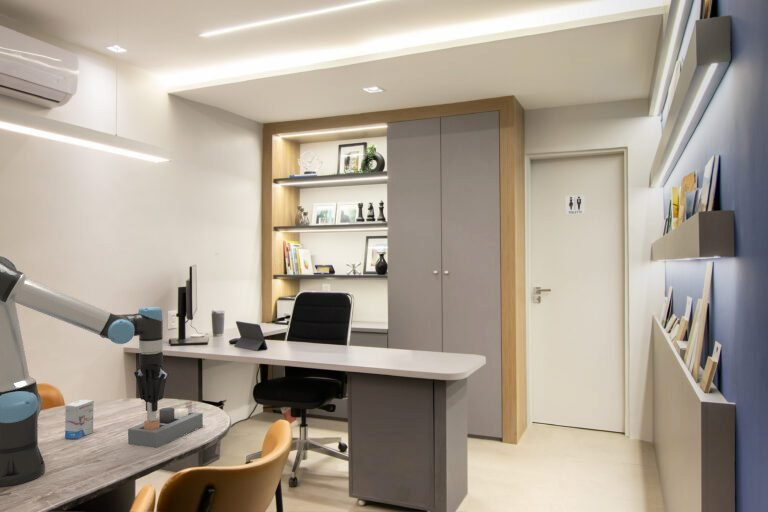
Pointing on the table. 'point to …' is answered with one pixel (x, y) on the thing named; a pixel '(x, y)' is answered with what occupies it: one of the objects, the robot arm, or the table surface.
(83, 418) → the ink box
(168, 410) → the button black
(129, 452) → the table surface
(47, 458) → the table surface
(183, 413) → the button ivory
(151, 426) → the button terracotta
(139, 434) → the panel
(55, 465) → the table surface
